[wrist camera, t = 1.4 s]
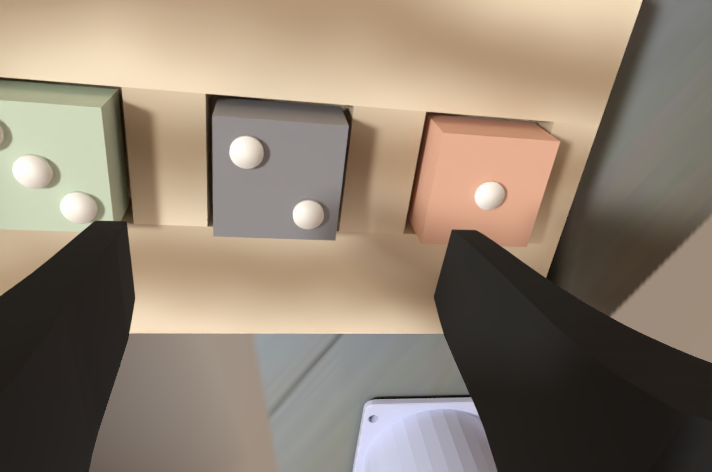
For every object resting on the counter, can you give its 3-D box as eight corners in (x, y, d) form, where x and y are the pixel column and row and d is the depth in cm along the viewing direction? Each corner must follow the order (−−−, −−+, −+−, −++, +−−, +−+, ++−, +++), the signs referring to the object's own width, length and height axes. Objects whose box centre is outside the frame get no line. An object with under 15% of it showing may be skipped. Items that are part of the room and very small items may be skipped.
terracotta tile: (505, 221, 21) (529, 249, 19) (407, 216, 20) (422, 246, 18) (533, 122, 19) (563, 143, 17) (426, 114, 18) (445, 135, 17)
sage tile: (128, 204, 18) (113, 236, 17) (1, 199, 18) (-31, 231, 16) (118, 89, 17) (98, 109, 15) (-26, 77, 16) (-65, 97, 14)
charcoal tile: (329, 213, 20) (335, 243, 18) (218, 208, 19) (212, 239, 17) (341, 107, 18) (349, 127, 16) (217, 97, 17) (211, 117, 15)
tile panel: (505, 300, 25) (526, 333, 23) (-13, 293, 21) (-43, 332, 19) (607, -28, 18) (650, -23, 16) (-121, -130, 14) (-185, -140, 12)
